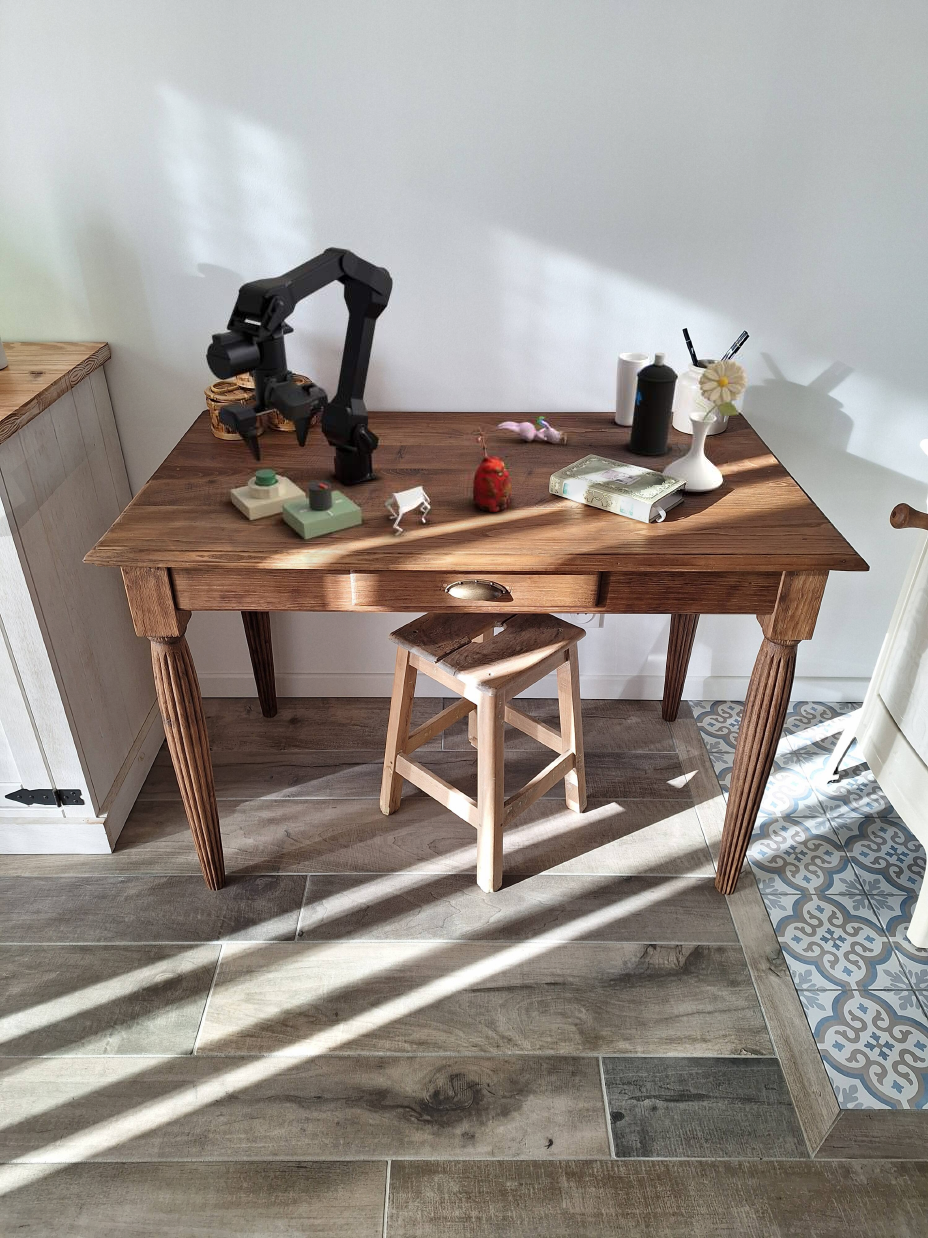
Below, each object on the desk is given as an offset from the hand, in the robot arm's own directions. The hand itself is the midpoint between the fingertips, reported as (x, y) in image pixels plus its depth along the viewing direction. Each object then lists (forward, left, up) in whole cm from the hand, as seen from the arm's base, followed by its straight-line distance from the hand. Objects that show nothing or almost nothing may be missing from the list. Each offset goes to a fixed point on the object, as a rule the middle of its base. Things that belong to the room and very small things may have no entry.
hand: (280, 453), depth 149 cm
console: (-3, +8, -11) cm, 14 cm away
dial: (-3, +8, -8) cm, 12 cm away
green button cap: (+2, -4, -7) cm, 8 cm away
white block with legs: (-15, +17, -11) cm, 25 cm away
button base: (+2, -4, -11) cm, 12 cm away
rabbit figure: (-58, -2, -11) cm, 59 cm away
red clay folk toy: (-32, +19, -11) cm, 39 cm away
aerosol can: (-76, +15, -11) cm, 79 cm away
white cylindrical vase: (-83, +1, -11) cm, 84 cm away
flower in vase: (-70, +34, -11) cm, 79 cm away
